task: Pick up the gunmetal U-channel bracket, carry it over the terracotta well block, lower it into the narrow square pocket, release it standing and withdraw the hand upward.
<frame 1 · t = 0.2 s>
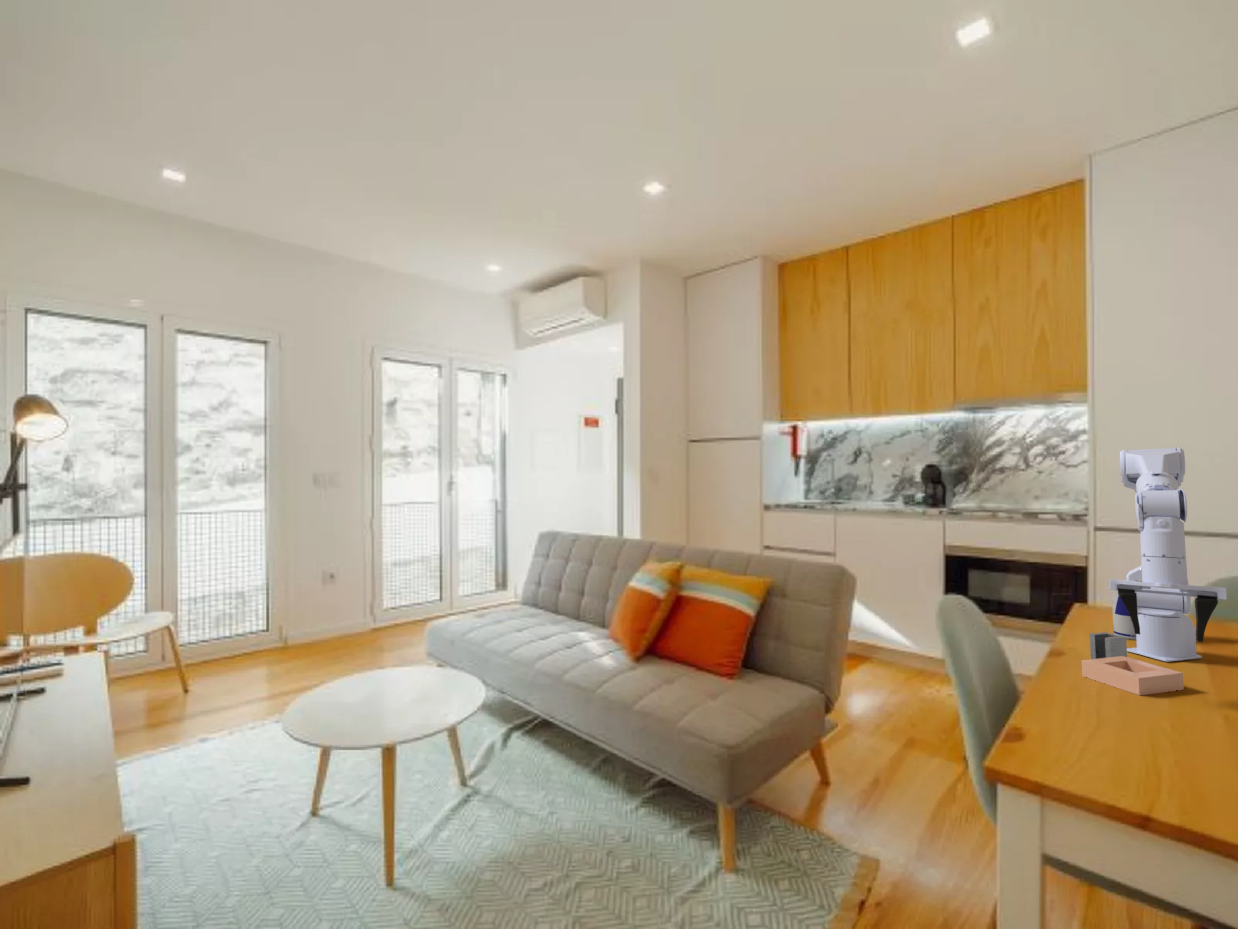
hand: (1167, 637, 97), 11 cm above the table, tool pointing down, fingers open, 7 cm apart
energy drink: (1128, 637, 132), on the table
bracket: (1109, 665, 114), on the table
well: (1131, 682, 104), on the table
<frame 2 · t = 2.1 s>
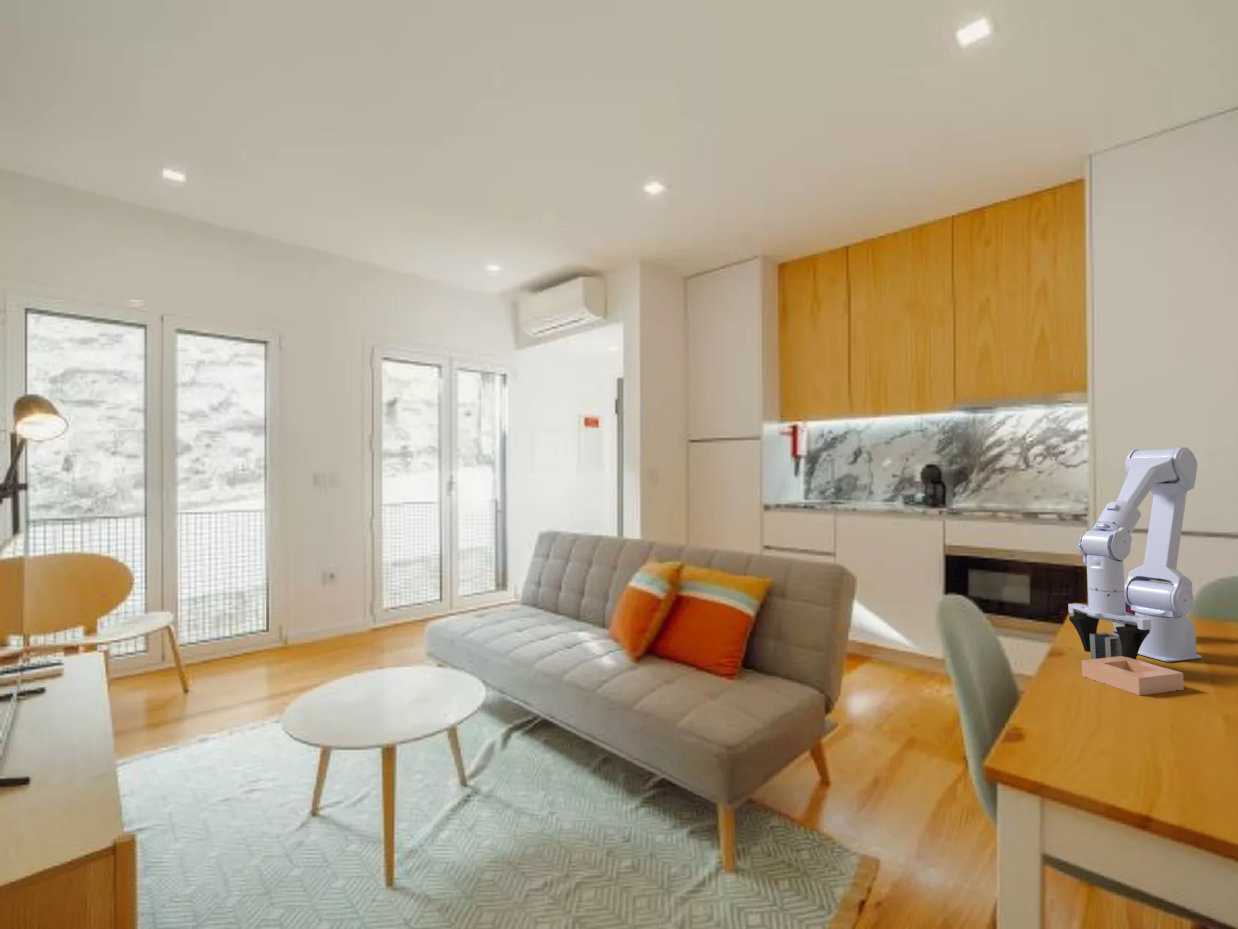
hand: (1109, 656, 114), 2 cm above the table, tool pointing down, fingers open, 7 cm apart
nothing on the table moved.
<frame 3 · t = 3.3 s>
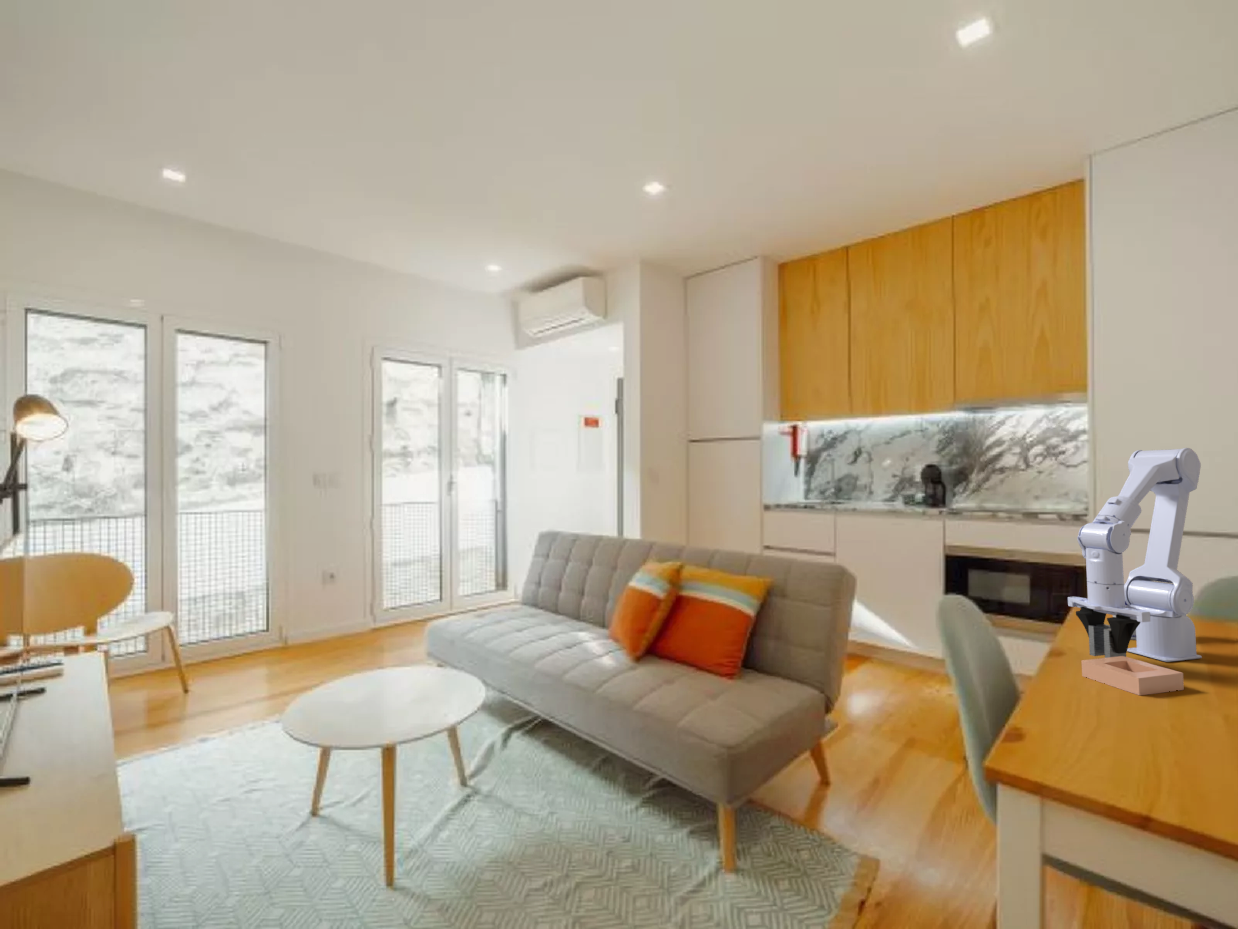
hand: (1108, 649, 114), 3 cm above the table, tool pointing down, fingers closed on bracket, 4 cm apart
bracket: (1107, 656, 114), point 2 cm above the table, touching gripper
everything else where it was.
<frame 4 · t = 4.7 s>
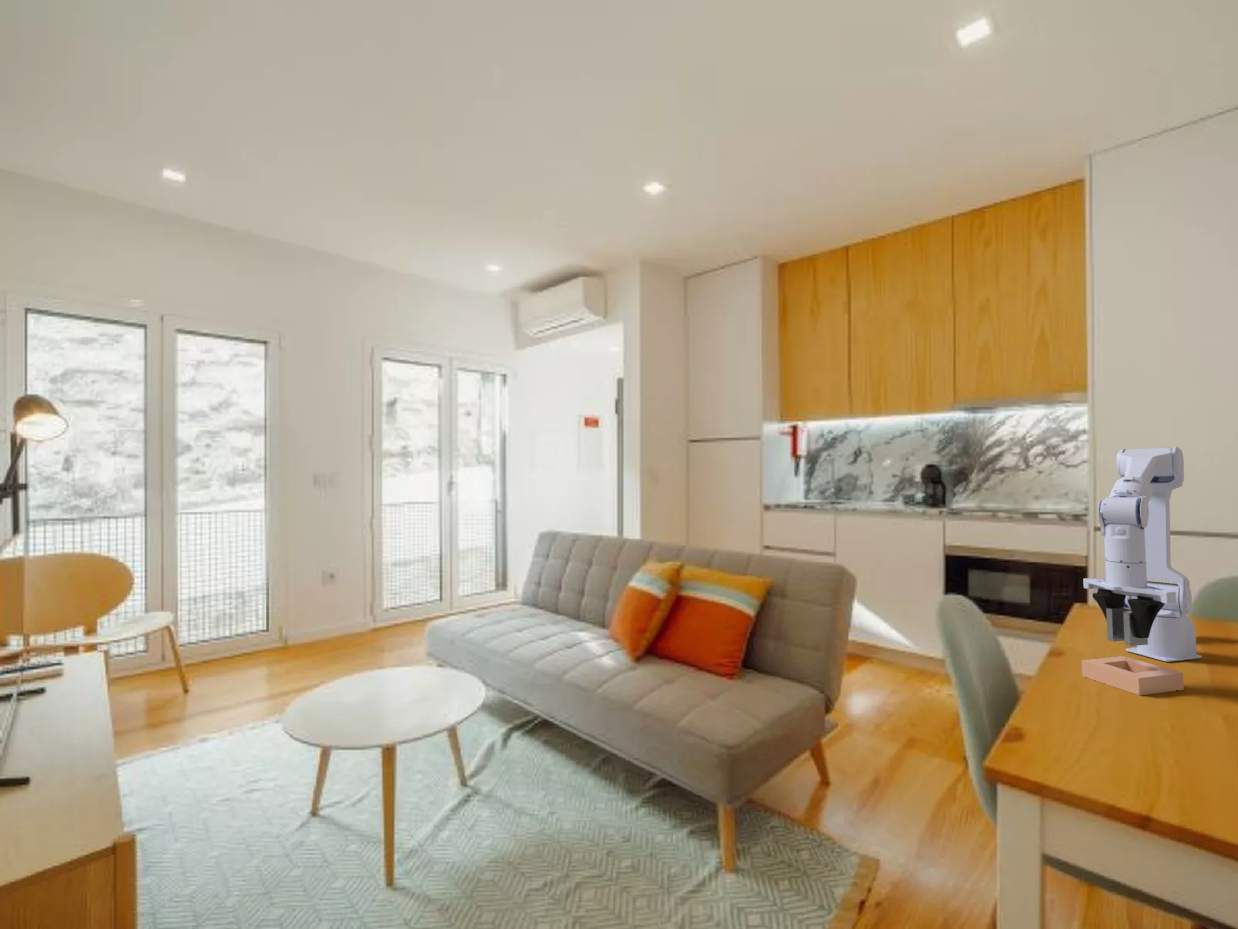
hand: (1128, 634, 105), 9 cm above the table, tool pointing down, fingers closed on bracket, 4 cm apart
bracket: (1127, 642, 105), point 8 cm above the table, touching gripper
everything else where it was.
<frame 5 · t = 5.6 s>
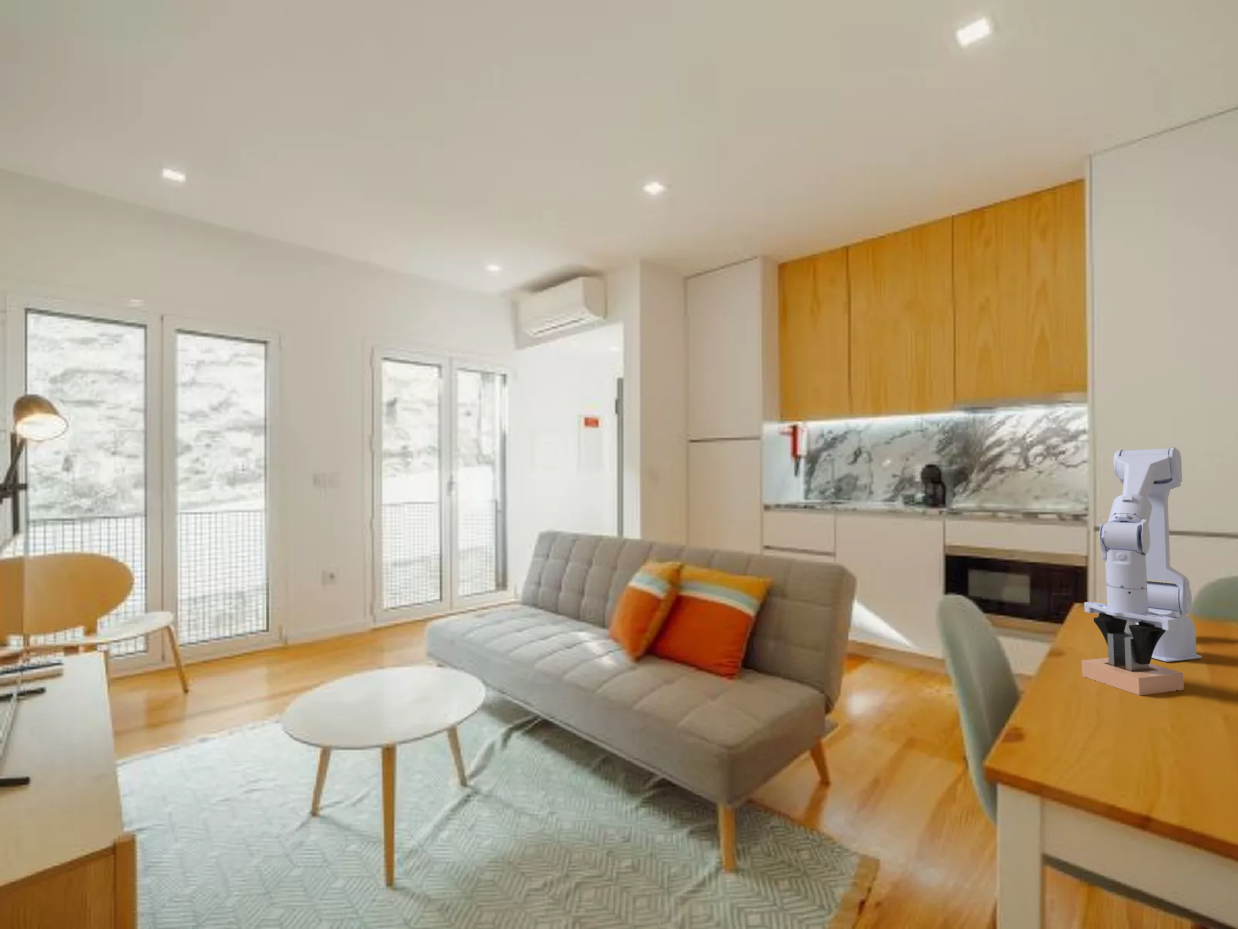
hand: (1129, 659, 105), 4 cm above the table, tool pointing down, fingers closed on bracket, 4 cm apart
bracket: (1128, 667, 104), point 3 cm above the table, touching gripper
everything else where it was.
when the fingers open (3 cm above the table, at t = 6.3 s): bracket drops 2 cm, resting in well.
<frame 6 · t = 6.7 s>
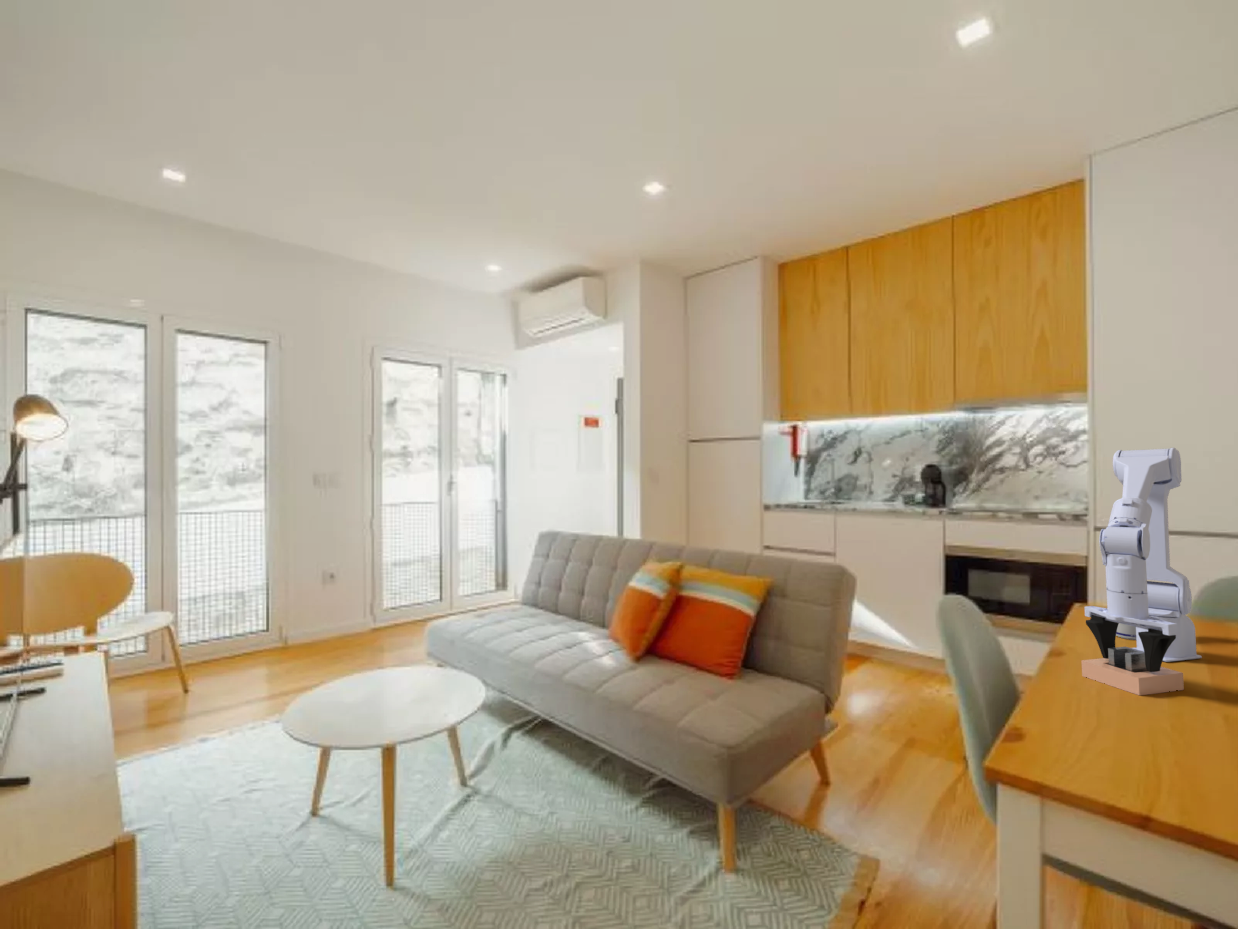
hand: (1130, 664, 105), 3 cm above the table, tool pointing down, fingers open, 7 cm apart
bracket: (1129, 683, 104), resting in well
everything else where it was.
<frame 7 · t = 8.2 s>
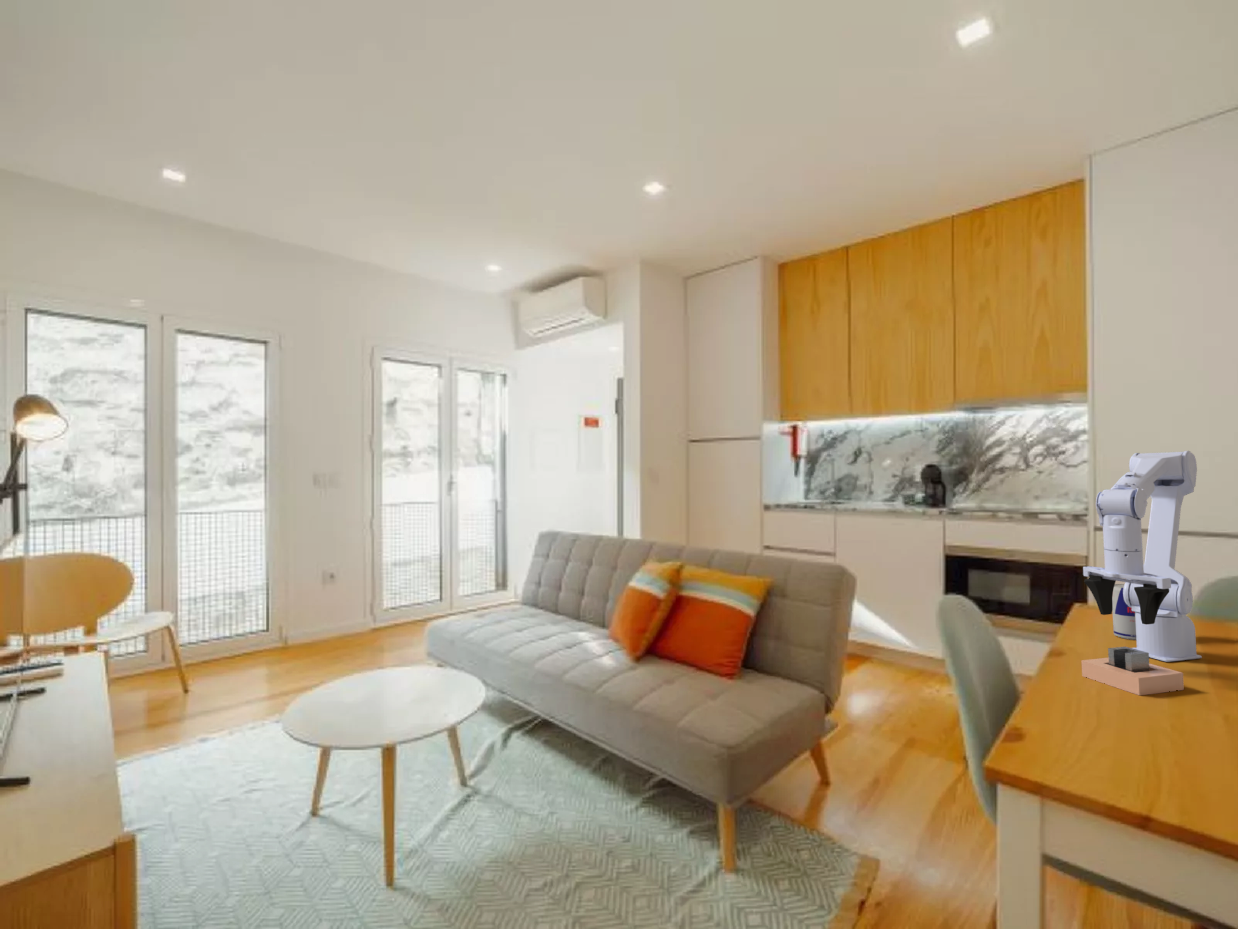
hand: (1126, 618, 111), 10 cm above the table, tool pointing down, fingers open, 7 cm apart
nothing on the table moved.
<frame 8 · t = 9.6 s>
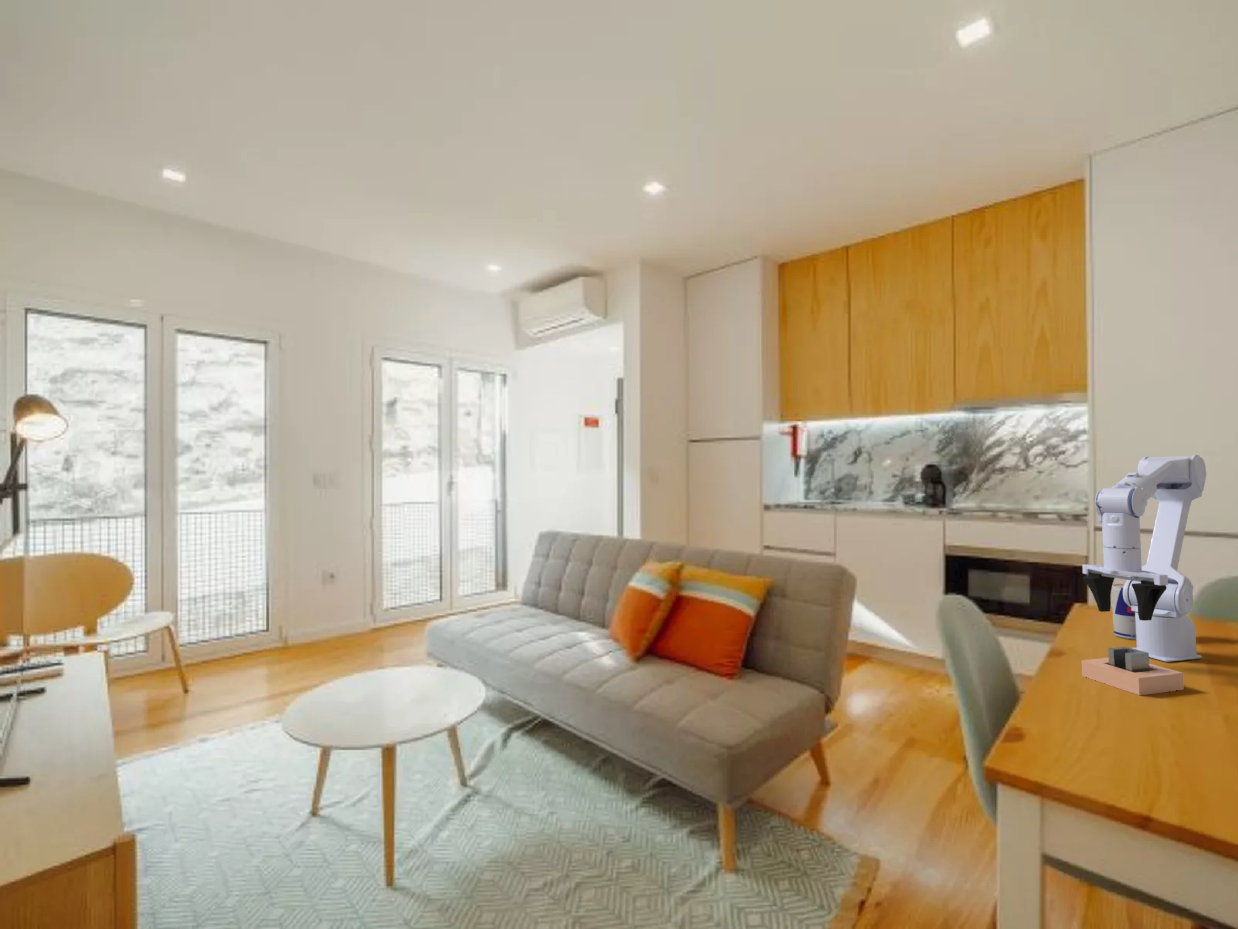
hand: (1124, 615, 112), 10 cm above the table, tool pointing down, fingers open, 7 cm apart
nothing on the table moved.
at the end: bracket 0.4 cm from the well (horizontally); bracket resting in well; bracket tilted 0° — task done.
